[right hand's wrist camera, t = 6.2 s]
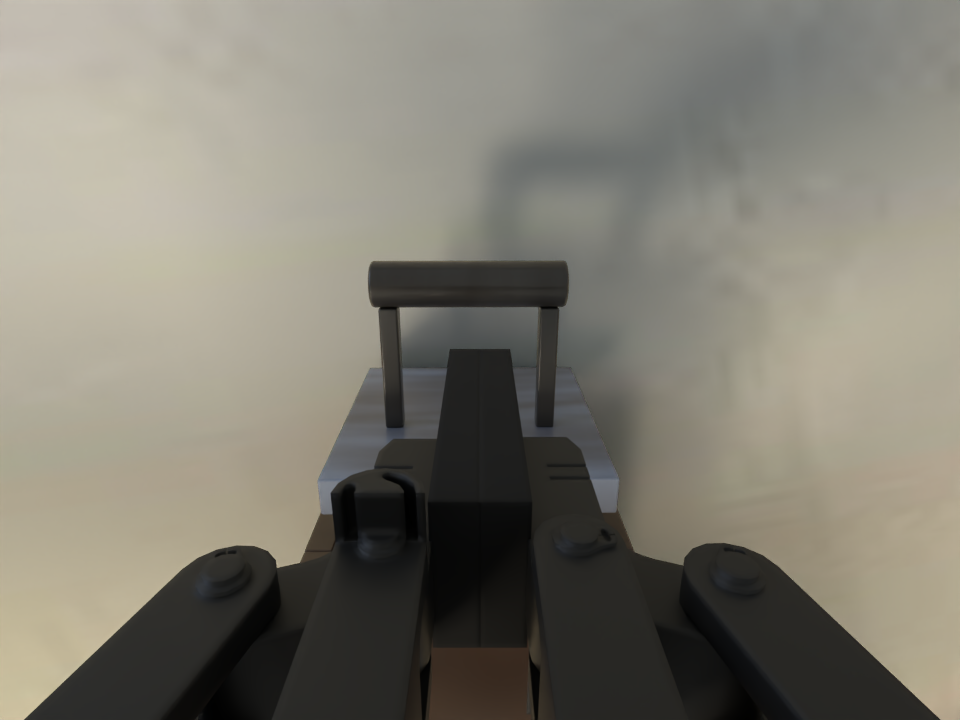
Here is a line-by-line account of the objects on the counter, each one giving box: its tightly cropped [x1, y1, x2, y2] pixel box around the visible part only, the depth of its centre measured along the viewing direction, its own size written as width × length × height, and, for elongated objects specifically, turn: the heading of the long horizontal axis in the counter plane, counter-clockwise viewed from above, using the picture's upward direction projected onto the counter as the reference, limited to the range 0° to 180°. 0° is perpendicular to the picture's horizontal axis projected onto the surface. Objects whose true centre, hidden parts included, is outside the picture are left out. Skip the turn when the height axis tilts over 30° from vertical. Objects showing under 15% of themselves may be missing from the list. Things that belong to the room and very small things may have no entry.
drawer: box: [318, 261, 620, 515], centre depth 23 cm, size 24×9×9 cm, turn 0°
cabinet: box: [300, 509, 634, 720], centre depth 25 cm, size 20×10×11 cm, turn 0°
